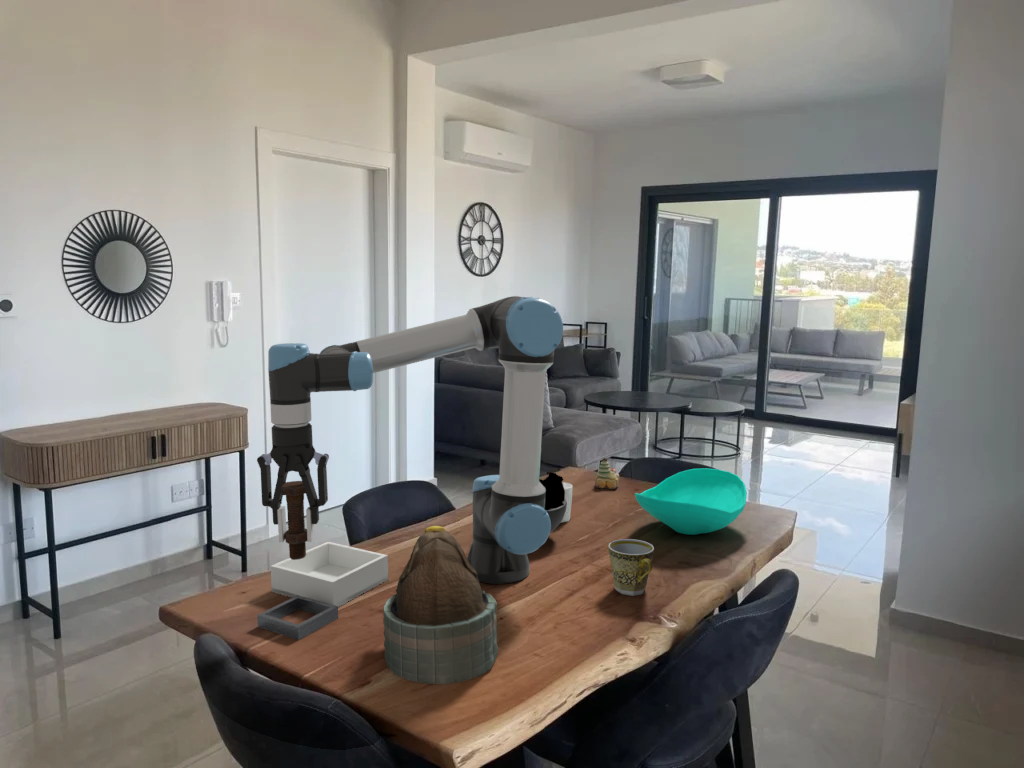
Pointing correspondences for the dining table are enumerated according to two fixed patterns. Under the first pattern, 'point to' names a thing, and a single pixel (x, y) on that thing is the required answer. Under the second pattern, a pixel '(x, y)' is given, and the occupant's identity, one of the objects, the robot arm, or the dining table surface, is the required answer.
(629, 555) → the ceramic cup
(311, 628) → the socket collar
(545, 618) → the dining table surface
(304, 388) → the robot arm
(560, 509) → the bowl of black rocks
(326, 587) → the bin
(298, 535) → the bolt
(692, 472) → the table top decor
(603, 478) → the ornament
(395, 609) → the decorative pot
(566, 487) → the white cup
